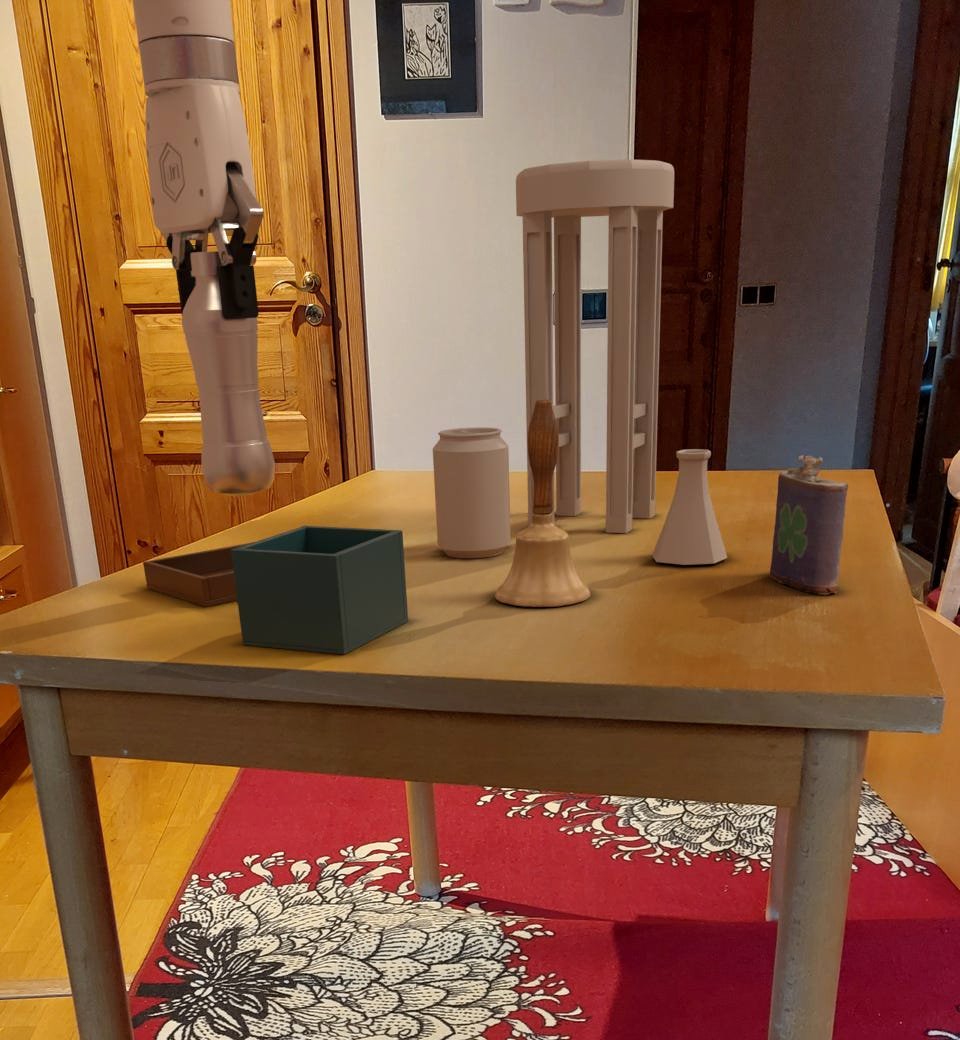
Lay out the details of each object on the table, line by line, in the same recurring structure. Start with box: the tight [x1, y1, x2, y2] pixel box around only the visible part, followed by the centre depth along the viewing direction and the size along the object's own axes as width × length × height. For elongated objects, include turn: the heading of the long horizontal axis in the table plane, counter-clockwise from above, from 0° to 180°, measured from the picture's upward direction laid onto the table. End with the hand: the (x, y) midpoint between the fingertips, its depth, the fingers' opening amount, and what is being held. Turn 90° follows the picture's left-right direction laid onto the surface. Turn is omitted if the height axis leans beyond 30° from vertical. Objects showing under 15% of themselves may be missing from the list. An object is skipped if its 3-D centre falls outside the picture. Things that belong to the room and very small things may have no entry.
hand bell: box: [494, 400, 591, 608], centre depth 98 cm, size 8×8×16 cm
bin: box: [231, 525, 409, 655], centre depth 92 cm, size 10×9×7 cm
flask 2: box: [769, 455, 849, 596], centre depth 100 cm, size 9×3×11 cm, turn 16°
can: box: [432, 427, 512, 559], centre depth 117 cm, size 8×8×12 cm
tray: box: [142, 541, 254, 608], centre depth 111 cm, size 16×11×2 cm
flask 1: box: [651, 448, 728, 566], centre depth 111 cm, size 7×7×10 cm
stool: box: [515, 158, 675, 534], centre depth 126 cm, size 16×16×35 cm
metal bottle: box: [181, 250, 276, 498], centre depth 104 cm, size 6×7×20 cm
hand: (219, 316), depth 101 cm, fingers closed on metal bottle, 6 cm apart
